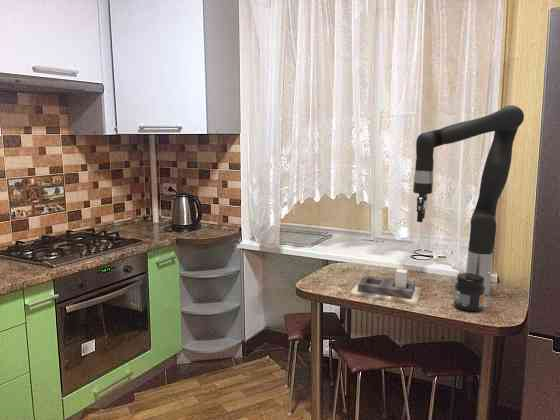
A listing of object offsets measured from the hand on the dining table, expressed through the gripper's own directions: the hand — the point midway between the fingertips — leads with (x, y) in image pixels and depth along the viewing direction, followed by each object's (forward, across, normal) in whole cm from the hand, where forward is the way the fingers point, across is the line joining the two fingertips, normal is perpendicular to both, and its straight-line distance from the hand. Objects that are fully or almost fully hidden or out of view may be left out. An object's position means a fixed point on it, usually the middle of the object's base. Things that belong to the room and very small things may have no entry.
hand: (420, 220), depth 201 cm
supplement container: (+28, -19, -21) cm, 40 cm away
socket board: (+28, -16, +10) cm, 34 cm away
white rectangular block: (+27, -16, +5) cm, 32 cm away
